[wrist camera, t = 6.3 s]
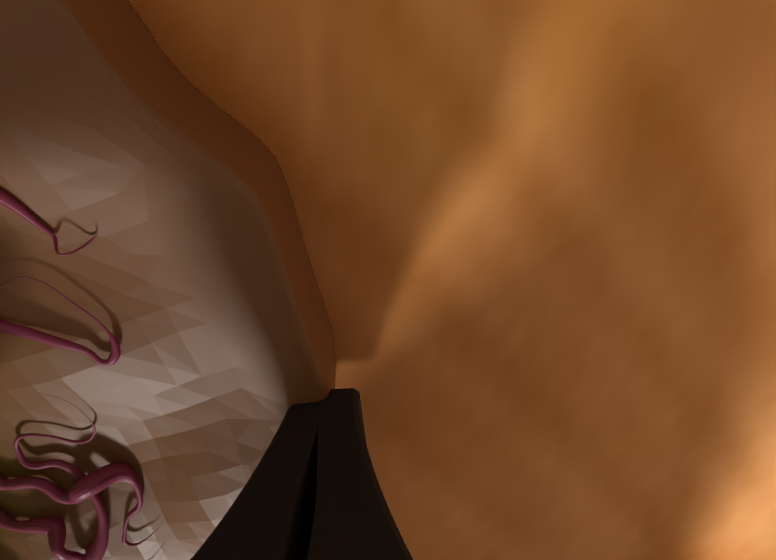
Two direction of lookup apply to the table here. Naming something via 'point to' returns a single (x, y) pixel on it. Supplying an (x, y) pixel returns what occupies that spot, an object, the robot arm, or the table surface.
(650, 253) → the table surface
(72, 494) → the plant
